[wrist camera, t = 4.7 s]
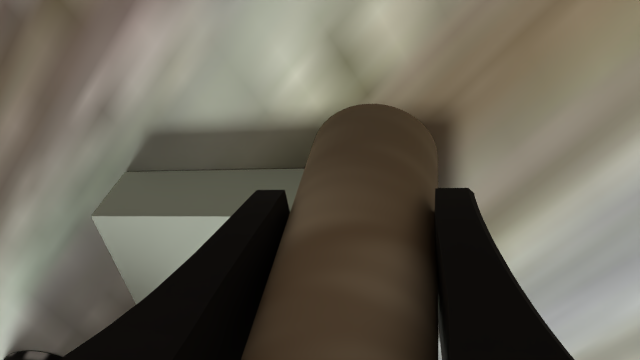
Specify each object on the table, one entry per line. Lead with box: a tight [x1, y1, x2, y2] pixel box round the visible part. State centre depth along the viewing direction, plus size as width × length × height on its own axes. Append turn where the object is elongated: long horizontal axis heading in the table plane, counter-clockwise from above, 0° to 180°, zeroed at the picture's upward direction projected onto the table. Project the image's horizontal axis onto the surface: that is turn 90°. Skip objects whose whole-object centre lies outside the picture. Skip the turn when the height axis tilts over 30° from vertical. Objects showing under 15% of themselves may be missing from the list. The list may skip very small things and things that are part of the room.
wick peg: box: [241, 104, 438, 360], centre depth 10 cm, size 3×3×8 cm
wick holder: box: [91, 169, 304, 305], centre depth 25 cm, size 12×12×3 cm
